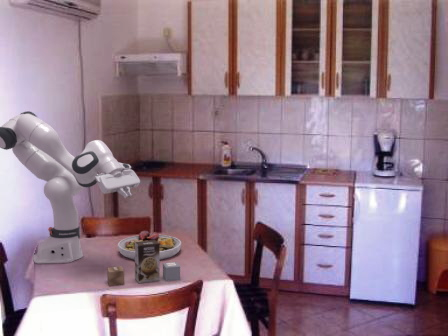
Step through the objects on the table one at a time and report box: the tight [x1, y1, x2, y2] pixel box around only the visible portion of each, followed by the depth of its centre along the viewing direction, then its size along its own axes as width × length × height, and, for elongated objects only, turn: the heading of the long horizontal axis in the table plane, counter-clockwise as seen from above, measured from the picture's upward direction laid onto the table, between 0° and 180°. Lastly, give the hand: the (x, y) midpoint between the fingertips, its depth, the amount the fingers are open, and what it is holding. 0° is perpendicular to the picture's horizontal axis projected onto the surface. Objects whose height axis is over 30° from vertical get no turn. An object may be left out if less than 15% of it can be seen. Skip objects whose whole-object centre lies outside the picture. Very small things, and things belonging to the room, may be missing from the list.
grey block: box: [162, 261, 181, 282], centre depth 243 cm, size 6×6×6 cm
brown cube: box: [106, 265, 125, 287], centre depth 237 cm, size 6×6×6 cm
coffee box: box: [134, 240, 161, 284], centre depth 241 cm, size 9×6×16 cm
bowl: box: [117, 230, 182, 261], centre depth 278 cm, size 30×30×8 cm
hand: (128, 197), depth 245 cm, fingers closed
